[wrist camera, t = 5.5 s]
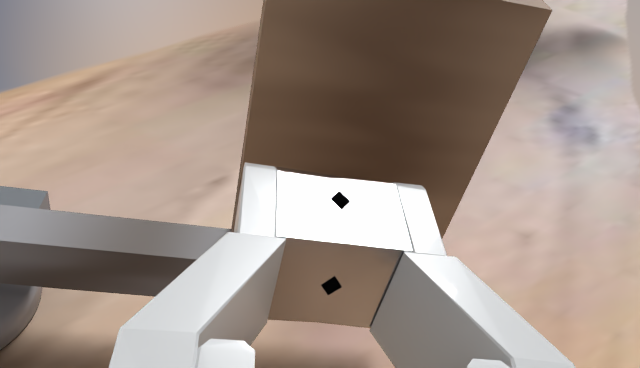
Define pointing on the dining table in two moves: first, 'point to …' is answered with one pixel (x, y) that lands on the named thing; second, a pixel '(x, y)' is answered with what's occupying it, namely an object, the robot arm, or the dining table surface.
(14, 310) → the white-striped grey panel
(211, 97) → the dining table surface
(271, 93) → the lever with brown handle
